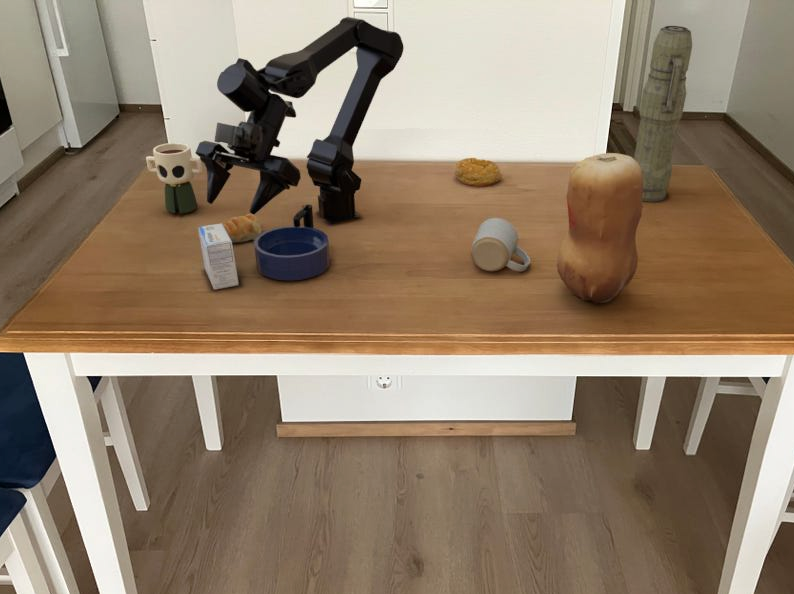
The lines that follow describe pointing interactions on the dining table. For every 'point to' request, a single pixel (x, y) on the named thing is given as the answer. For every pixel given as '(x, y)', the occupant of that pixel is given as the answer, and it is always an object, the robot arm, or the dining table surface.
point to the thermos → (662, 109)
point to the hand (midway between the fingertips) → (230, 208)
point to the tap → (304, 216)
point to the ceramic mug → (497, 246)
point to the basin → (292, 253)
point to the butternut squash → (601, 226)
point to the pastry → (243, 228)
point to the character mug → (176, 175)
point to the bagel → (477, 172)
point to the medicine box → (218, 256)
